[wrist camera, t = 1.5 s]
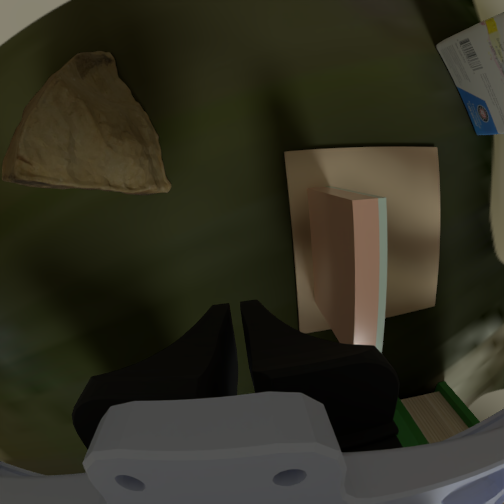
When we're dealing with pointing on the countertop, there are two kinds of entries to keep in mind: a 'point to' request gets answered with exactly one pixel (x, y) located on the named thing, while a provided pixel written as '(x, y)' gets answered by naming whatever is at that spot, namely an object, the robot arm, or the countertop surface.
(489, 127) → the ink box
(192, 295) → the countertop surface
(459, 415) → the hardback book
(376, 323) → the tile
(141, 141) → the rock
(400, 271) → the mat
